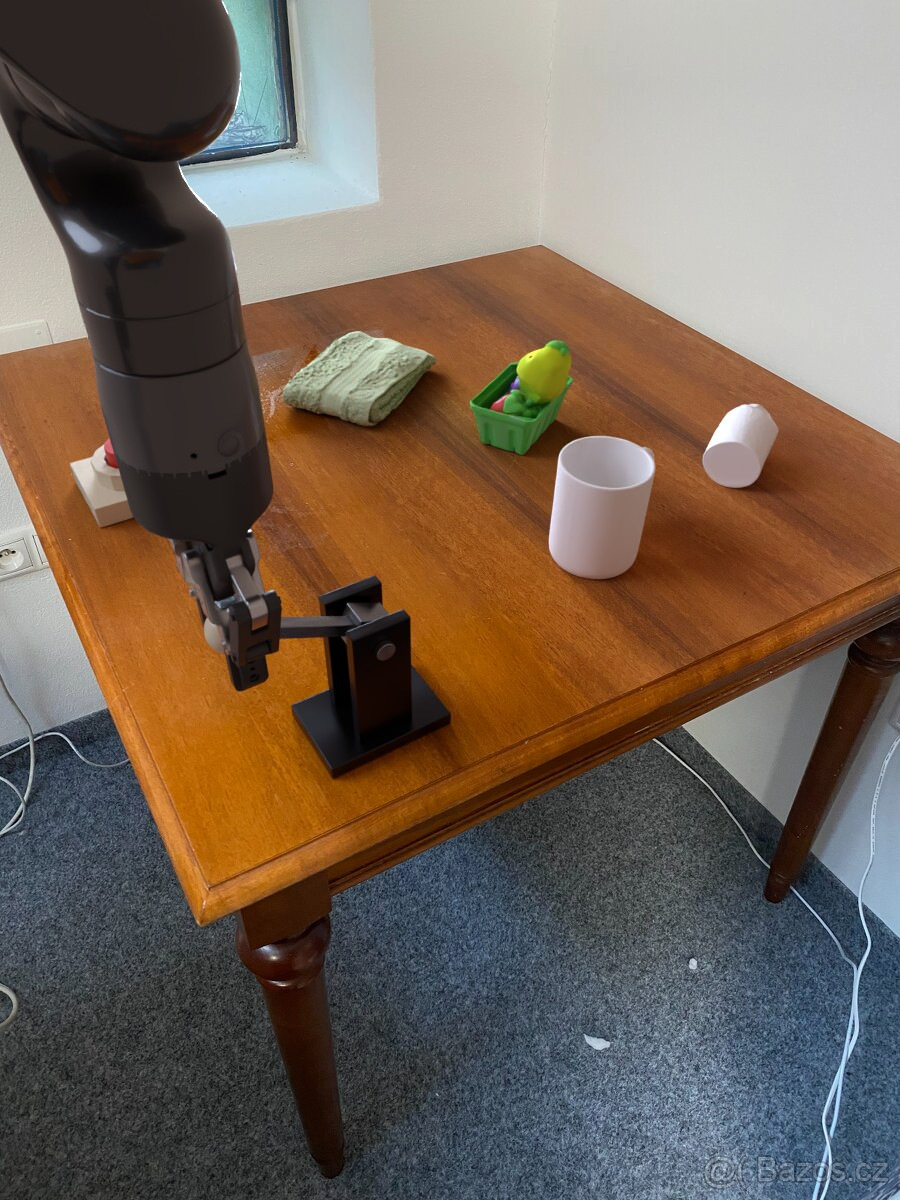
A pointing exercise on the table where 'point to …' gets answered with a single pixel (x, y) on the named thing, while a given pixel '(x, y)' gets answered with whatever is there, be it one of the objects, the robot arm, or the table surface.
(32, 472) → the table surface
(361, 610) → the lever
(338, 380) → the washcloth
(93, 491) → the button box
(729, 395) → the table surface
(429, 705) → the bracket
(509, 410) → the fruit basket
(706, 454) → the white bottle
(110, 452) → the button
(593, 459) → the cup
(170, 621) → the table surface
